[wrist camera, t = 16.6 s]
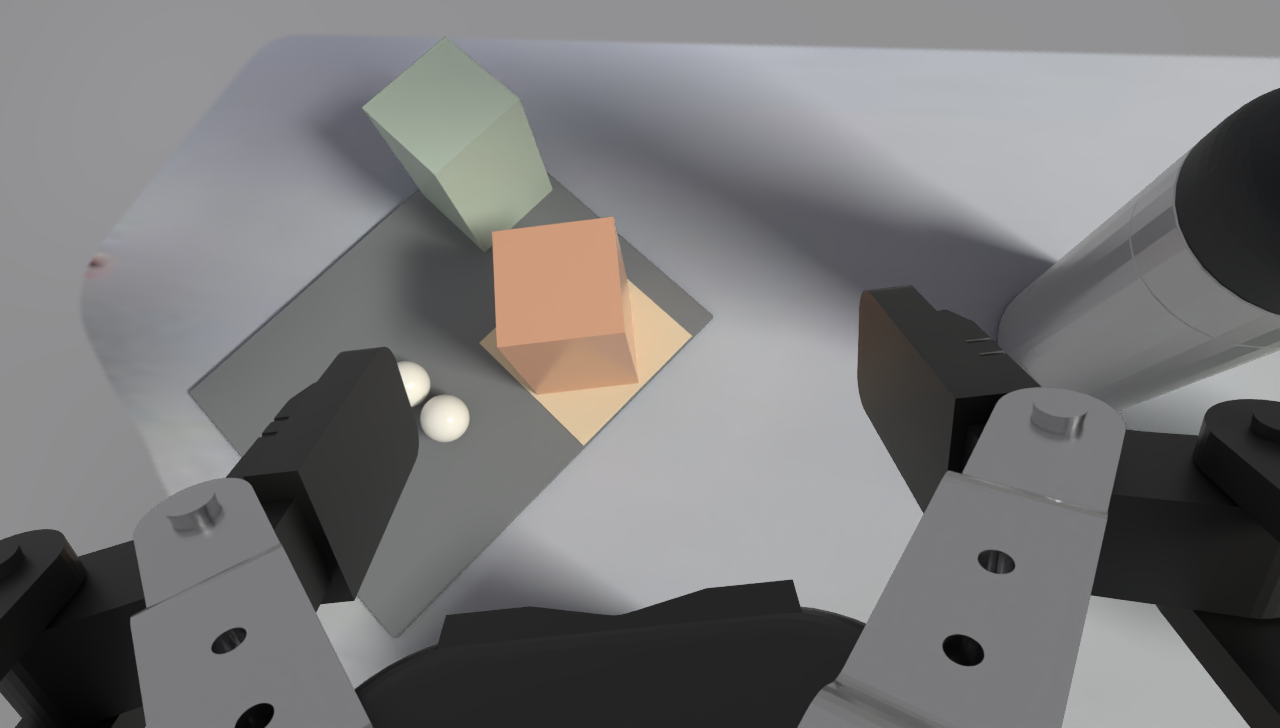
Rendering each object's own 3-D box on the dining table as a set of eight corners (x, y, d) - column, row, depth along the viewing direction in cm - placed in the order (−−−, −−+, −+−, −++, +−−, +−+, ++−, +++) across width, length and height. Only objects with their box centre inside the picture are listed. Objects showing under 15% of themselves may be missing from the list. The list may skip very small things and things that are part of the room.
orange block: (532, 300, 47) (492, 231, 38) (629, 288, 47) (613, 216, 37) (537, 394, 45) (497, 347, 36) (638, 383, 45) (625, 332, 36)
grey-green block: (491, 136, 51) (445, 36, 42) (552, 189, 50) (519, 98, 40) (424, 195, 50) (361, 107, 41) (484, 252, 49) (434, 174, 39)
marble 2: (454, 391, 46) (439, 379, 43) (485, 422, 45) (471, 412, 42) (420, 423, 45) (402, 414, 43) (450, 455, 45) (434, 447, 42)
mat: (494, 129, 52) (491, 123, 52) (712, 318, 47) (712, 314, 46) (194, 395, 48) (187, 392, 47) (397, 637, 42) (392, 638, 42)
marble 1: (417, 359, 47) (399, 345, 44) (446, 389, 46) (430, 377, 43) (383, 391, 46) (363, 379, 43) (412, 421, 46) (393, 411, 43)
